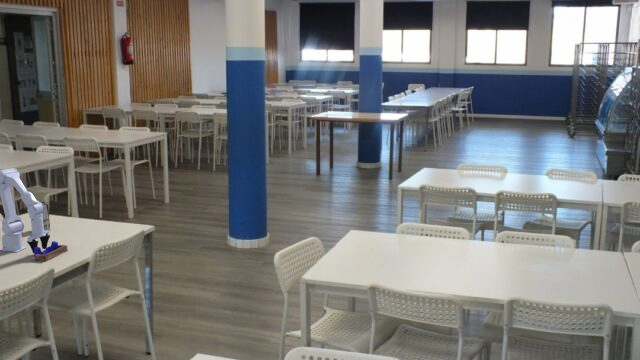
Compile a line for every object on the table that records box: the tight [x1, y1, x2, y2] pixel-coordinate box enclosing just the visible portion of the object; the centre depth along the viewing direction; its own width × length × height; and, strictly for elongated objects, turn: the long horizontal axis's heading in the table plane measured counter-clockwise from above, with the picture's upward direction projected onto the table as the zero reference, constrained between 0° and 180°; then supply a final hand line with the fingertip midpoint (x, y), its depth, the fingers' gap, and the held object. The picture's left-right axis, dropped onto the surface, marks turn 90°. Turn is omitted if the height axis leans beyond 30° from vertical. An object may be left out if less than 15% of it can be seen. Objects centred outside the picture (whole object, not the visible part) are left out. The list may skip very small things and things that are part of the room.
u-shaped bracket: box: [35, 244, 68, 262], centre depth 343 cm, size 6×18×3 cm, turn 166°
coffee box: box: [41, 202, 51, 232], centre depth 387 cm, size 9×6×16 cm
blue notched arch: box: [33, 240, 59, 259], centre depth 343 cm, size 12×4×6 cm, turn 149°
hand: (39, 251), depth 345 cm, fingers open, 7 cm apart
